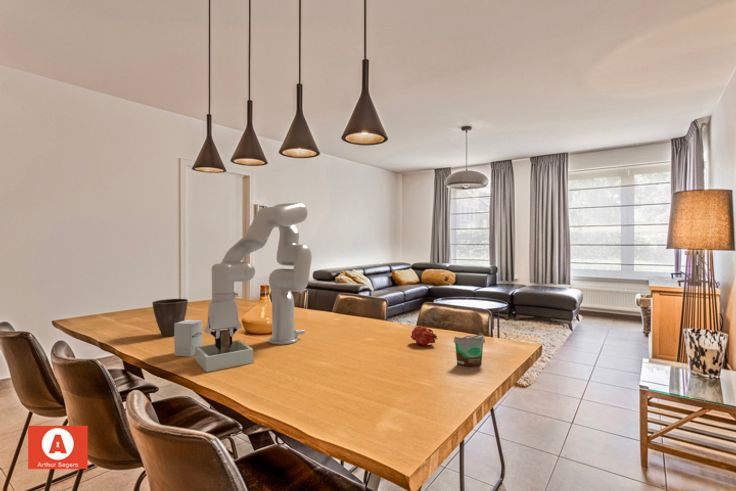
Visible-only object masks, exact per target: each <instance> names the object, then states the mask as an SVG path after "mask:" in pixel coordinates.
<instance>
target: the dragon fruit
mask: <svg viewBox="0 0 736 491" xmlns="http://www.w3.org/2000/svg"><path fill="white" fill-rule="evenodd" d="M410 338H411V339H412V340H413V341H415V342H416V345H423V346H424V347H431V346H432V345H430V344H435V343H436V340H438V336H437V334H435V333H434V331H433V330H432V329H431V328H428V327H427V326H425V325H423V326H422V325H418V326H415V327H414V328H413V330H412V332H411V336H410Z"/></svg>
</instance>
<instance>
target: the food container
mask: <svg viewBox="0 0 736 491" xmlns="http://www.w3.org/2000/svg"><path fill="white" fill-rule="evenodd" d="M453 338H454V339H453V343H454V344H455V345H454V346H455V356H456V365H458V366H461V367H467V368H476V367H480V366H481V365H482V360H483V352H484V351H483V349H484V344H485V343H486V337H485V336H484V334H483V333H482V332H478V334H477V335H466V336H463V337H460V336H459V337H458V336H454V337H453Z"/></svg>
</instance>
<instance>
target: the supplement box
mask: <svg viewBox="0 0 736 491" xmlns="http://www.w3.org/2000/svg"><path fill="white" fill-rule="evenodd" d="M173 337H174V338H173V339H174V356H175V357H188V358H189V357H192V356H195V347H198V346H203V320H201V319H185V320H184V321H181V322H178V323H175V324H174V336H173Z"/></svg>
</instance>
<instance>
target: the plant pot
mask: <svg viewBox="0 0 736 491" xmlns="http://www.w3.org/2000/svg"><path fill="white" fill-rule="evenodd" d="M188 302H189V299H188V298H168V299H167V298H166V299H158V300H154V301H152V302H151V303H152V308H153V314H154V317H155V321H156V325H157V327H158V329H159V332H160V334H161V336H162V337H165V336H168V337H174V324H175V323H178V322H181V321H185V320H186V315H187V310H188Z"/></svg>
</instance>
